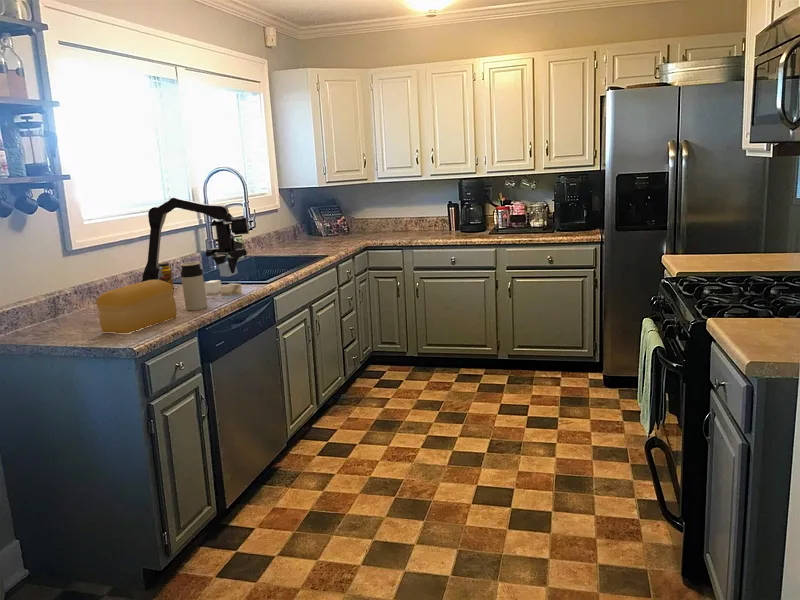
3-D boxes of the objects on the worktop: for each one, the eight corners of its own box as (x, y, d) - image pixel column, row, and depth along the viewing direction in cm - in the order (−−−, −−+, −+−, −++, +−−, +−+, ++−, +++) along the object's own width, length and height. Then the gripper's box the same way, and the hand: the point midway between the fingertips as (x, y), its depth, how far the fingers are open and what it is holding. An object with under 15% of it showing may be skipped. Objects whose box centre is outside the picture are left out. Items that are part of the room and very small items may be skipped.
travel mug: (201, 310, 255) (194, 264, 251) (182, 311, 256) (175, 265, 253) (211, 306, 262) (204, 260, 258) (192, 306, 264) (185, 261, 260)
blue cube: (229, 276, 277) (226, 264, 276) (220, 276, 280) (218, 264, 278) (237, 273, 281) (235, 261, 280) (229, 272, 284) (227, 261, 282)
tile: (229, 298, 273) (229, 297, 273) (222, 298, 275) (222, 297, 275) (240, 295, 278) (240, 294, 278) (233, 295, 280) (233, 294, 280)
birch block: (231, 296, 278) (230, 287, 277) (221, 295, 281) (220, 286, 281) (242, 293, 283) (240, 284, 282) (232, 292, 286) (230, 283, 285)
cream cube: (215, 294, 286) (214, 282, 285) (205, 294, 288) (204, 282, 287) (222, 291, 291) (220, 280, 290) (212, 291, 293) (210, 280, 292)
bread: (152, 316, 253) (146, 277, 250) (178, 317, 248) (172, 277, 244) (100, 333, 231) (93, 291, 228) (128, 335, 226) (121, 292, 223)
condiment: (165, 291, 302) (161, 265, 299) (153, 290, 306) (148, 264, 303) (178, 287, 308) (174, 262, 305) (165, 287, 312) (161, 261, 309)
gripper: (254, 233, 278) (258, 270, 282) (222, 233, 288) (227, 268, 292) (234, 237, 269) (239, 275, 273) (202, 236, 279) (207, 273, 283)
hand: (228, 272), depth 280 cm, fingers closed on blue cube, 5 cm apart
